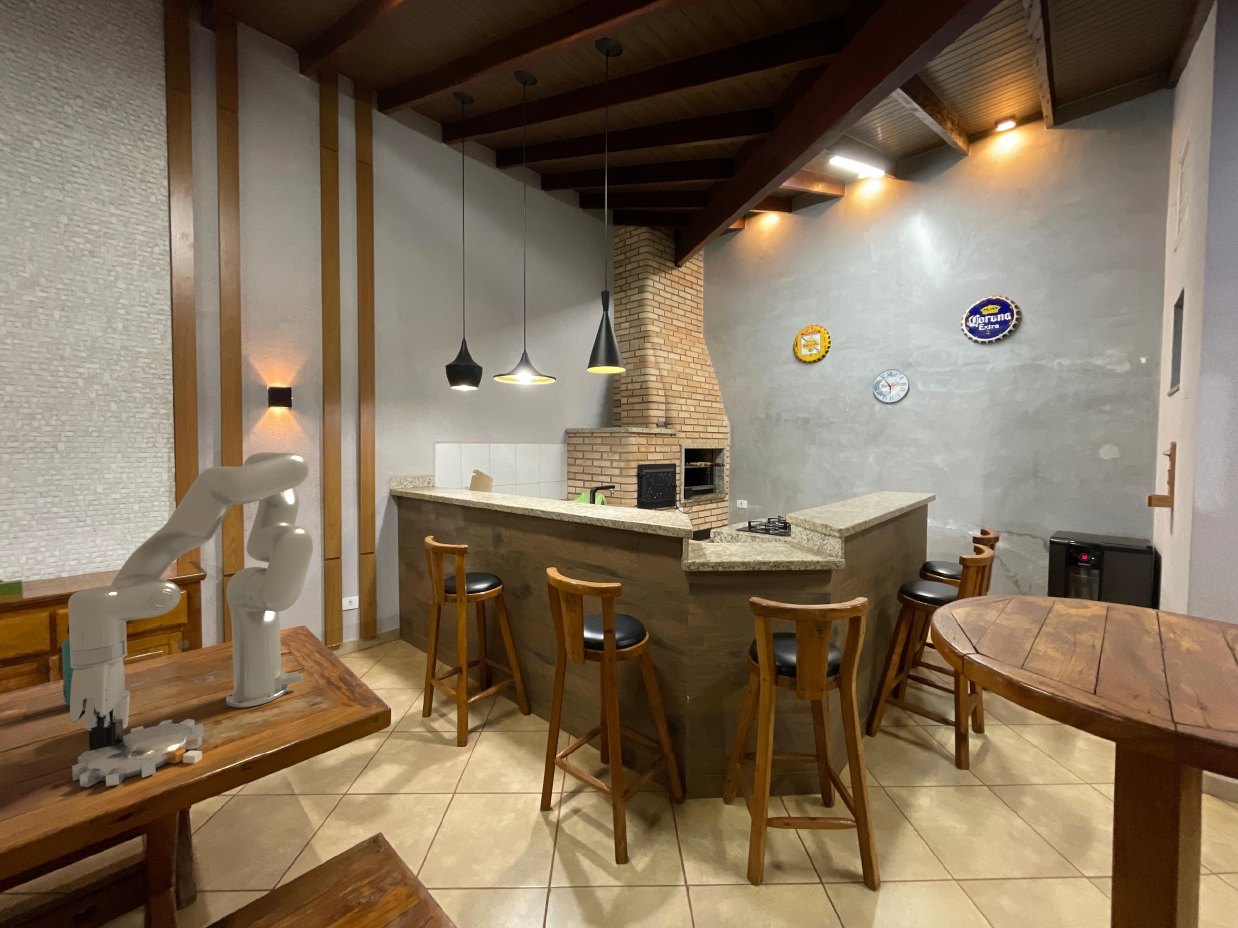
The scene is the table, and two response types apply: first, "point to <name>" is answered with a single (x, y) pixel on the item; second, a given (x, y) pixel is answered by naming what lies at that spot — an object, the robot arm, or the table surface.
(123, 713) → the white cup
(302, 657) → the table surface
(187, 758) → the block
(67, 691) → the beverage bottle
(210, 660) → the table surface
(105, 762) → the index wheel
